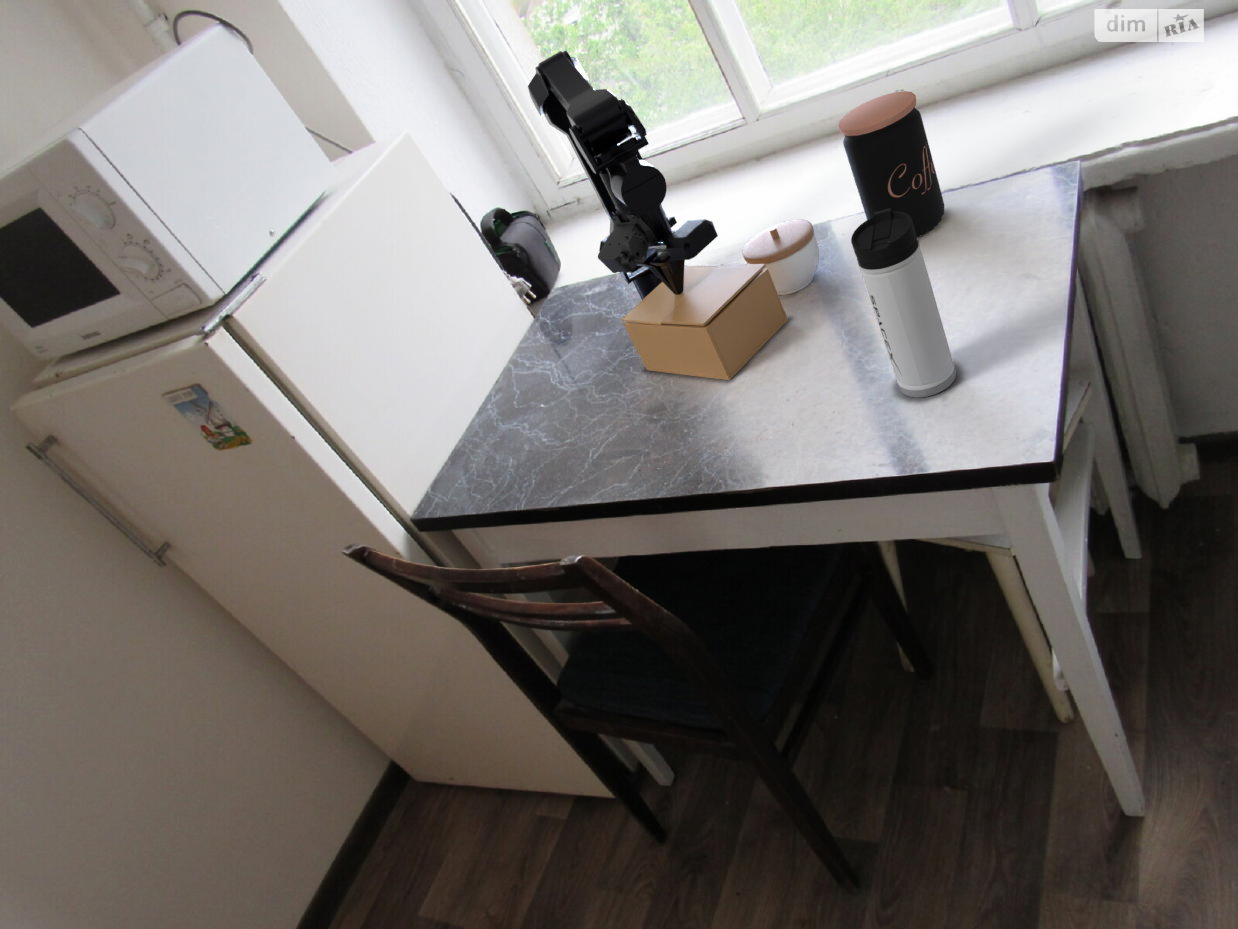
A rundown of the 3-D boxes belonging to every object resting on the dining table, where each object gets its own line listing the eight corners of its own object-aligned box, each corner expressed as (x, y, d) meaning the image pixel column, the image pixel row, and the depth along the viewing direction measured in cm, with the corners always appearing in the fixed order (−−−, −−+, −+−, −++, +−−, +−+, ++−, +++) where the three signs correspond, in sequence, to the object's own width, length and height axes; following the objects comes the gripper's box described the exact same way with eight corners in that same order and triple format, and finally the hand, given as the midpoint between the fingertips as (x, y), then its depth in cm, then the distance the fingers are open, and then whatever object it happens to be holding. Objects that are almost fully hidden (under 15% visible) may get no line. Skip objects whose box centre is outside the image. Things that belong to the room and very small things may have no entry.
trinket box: (825, 255, 133) (805, 200, 128) (832, 286, 125) (811, 228, 120) (758, 280, 137) (737, 228, 132) (761, 312, 128) (738, 257, 123)
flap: (622, 321, 126) (621, 318, 125) (681, 267, 131) (680, 265, 131) (661, 325, 119) (660, 322, 119) (722, 268, 125) (721, 265, 125)
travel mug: (957, 358, 99) (913, 200, 88) (955, 392, 94) (908, 230, 84) (901, 368, 102) (852, 217, 92) (897, 402, 97) (845, 247, 87)
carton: (647, 370, 130) (620, 319, 125) (703, 315, 136) (680, 264, 131) (729, 380, 117) (703, 323, 112) (788, 319, 123) (765, 263, 118)
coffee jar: (907, 250, 123) (871, 131, 114) (858, 240, 132) (822, 129, 123) (963, 210, 125) (932, 89, 115) (911, 203, 134) (879, 90, 124)
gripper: (552, 230, 120) (602, 323, 128) (640, 223, 105) (690, 329, 113) (605, 188, 124) (649, 280, 132) (696, 176, 110) (740, 281, 118)
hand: (679, 293), depth 124 cm, fingers closed, pressing on flap
